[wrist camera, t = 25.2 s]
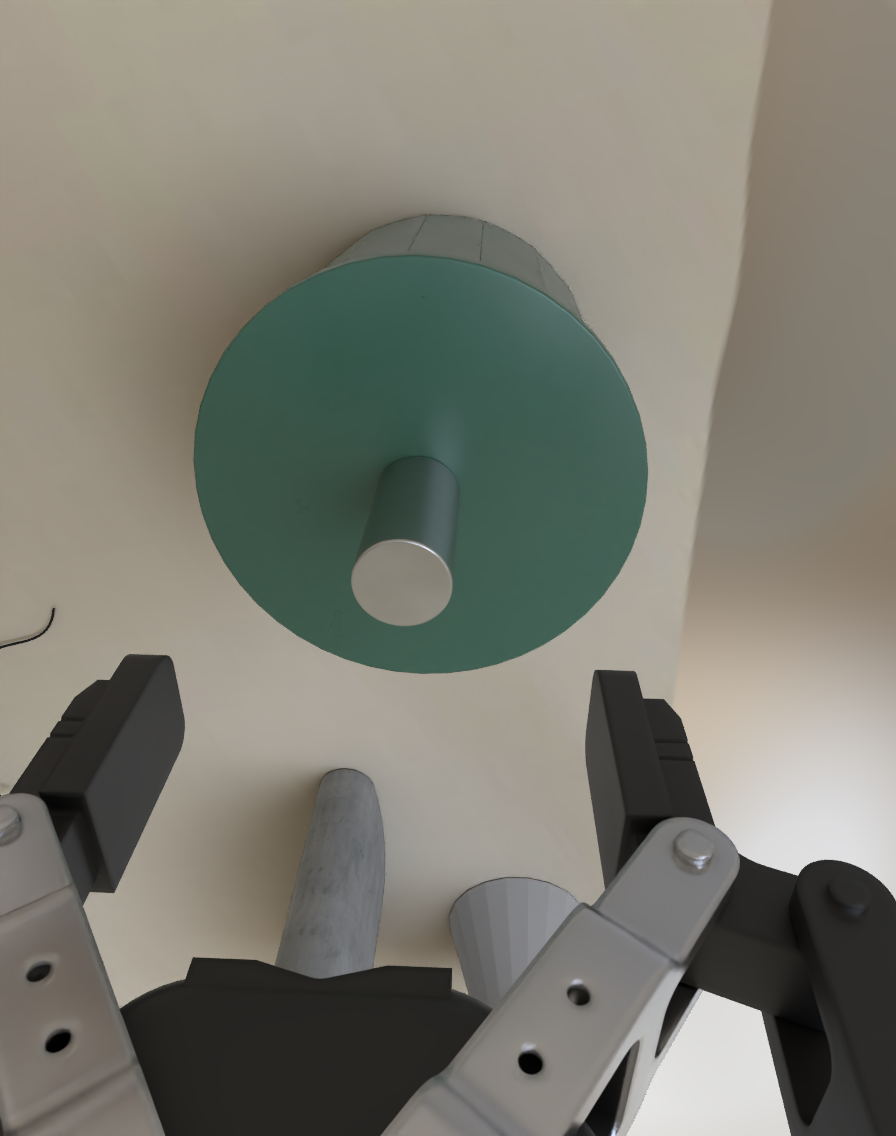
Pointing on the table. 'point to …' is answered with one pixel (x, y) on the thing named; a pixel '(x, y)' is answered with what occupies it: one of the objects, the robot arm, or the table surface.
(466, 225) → the open teal cylindrical container
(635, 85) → the table surface
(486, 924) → the lava lamp
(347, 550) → the teal disc with peg
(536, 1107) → the robot arm
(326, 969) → the hip flask
